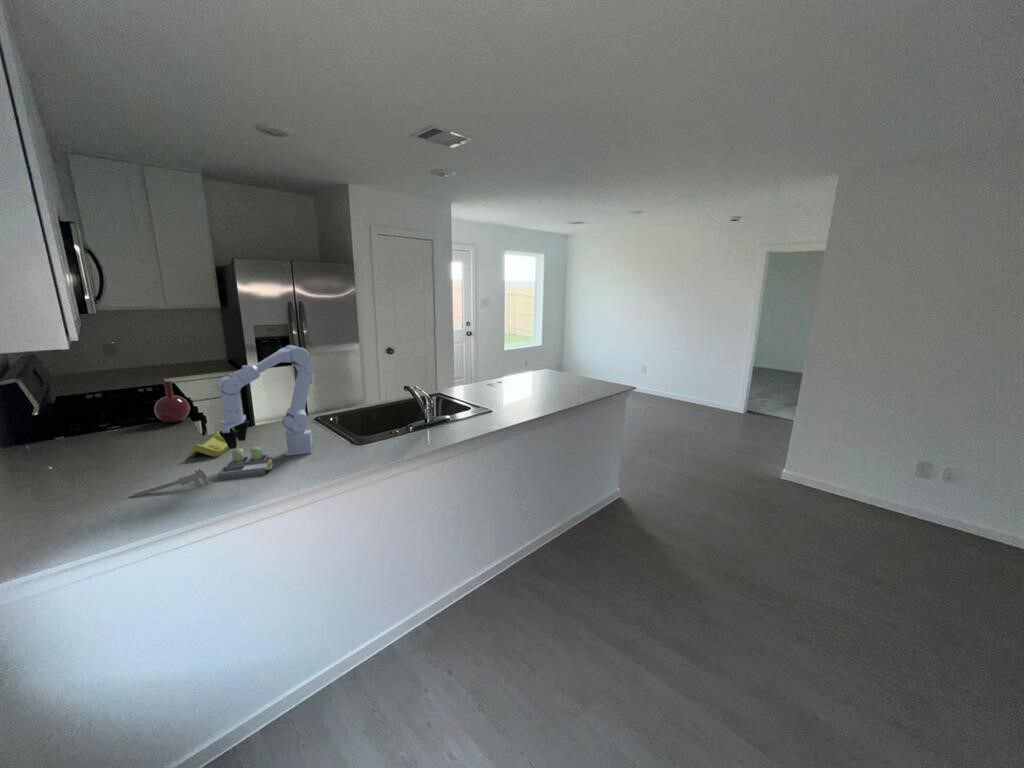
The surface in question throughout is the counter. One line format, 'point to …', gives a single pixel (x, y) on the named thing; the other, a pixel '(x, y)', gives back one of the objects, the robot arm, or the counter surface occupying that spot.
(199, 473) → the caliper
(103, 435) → the counter surface
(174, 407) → the round-bottom flask
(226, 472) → the housing
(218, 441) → the plastic component
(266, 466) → the lid
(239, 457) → the peg
